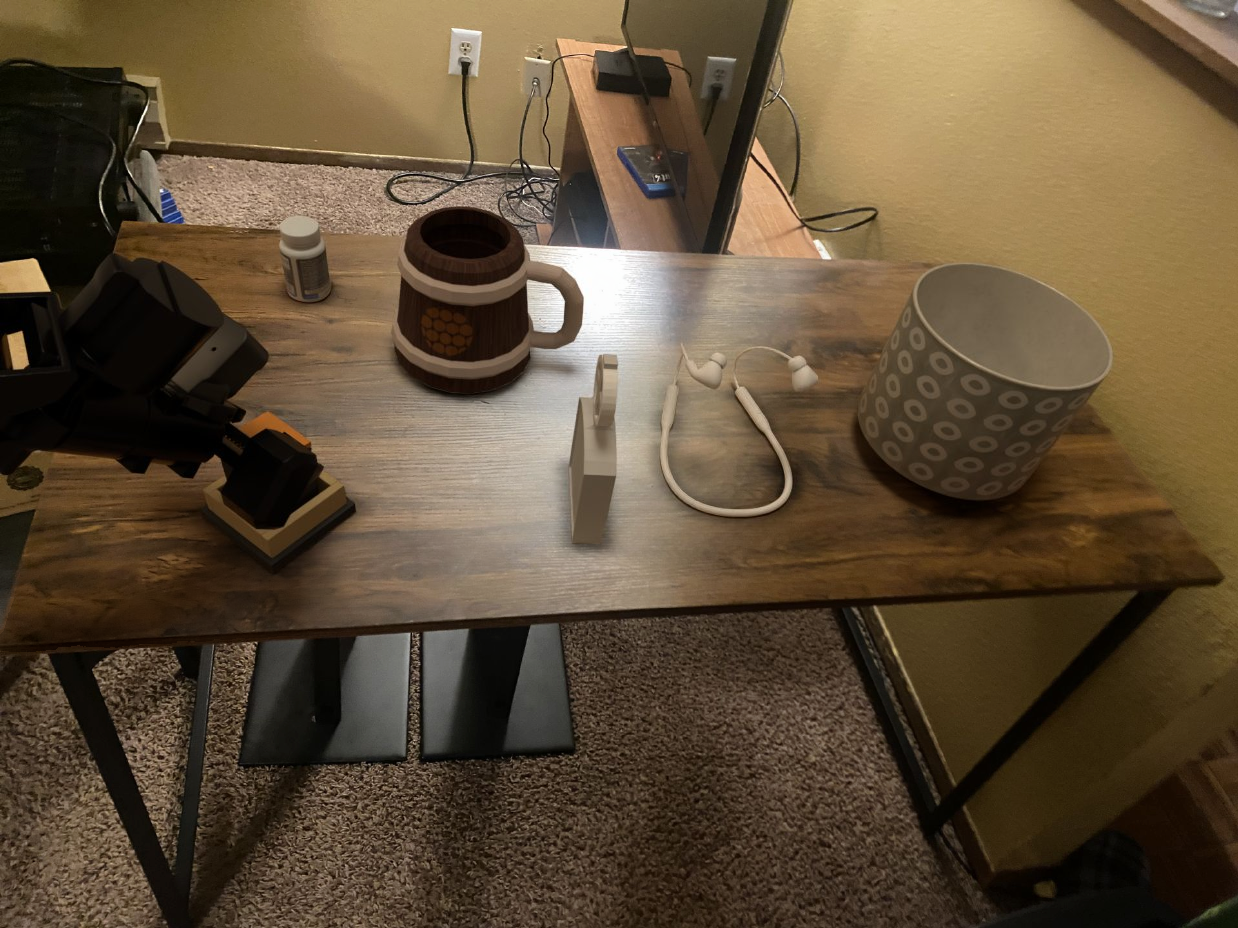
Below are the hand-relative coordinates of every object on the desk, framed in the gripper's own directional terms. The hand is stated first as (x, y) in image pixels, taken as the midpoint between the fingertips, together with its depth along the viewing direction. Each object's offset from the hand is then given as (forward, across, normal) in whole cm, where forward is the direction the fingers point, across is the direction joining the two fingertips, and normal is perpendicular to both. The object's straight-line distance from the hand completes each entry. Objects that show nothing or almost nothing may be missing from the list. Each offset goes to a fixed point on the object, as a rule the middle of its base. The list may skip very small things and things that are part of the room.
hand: (280, 442), depth 68 cm
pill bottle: (+21, +23, -10) cm, 33 cm away
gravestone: (+18, -19, -7) cm, 27 cm away
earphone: (+30, -25, -18) cm, 43 cm away
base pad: (+5, 0, +7) cm, 8 cm away
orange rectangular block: (+4, 0, +6) cm, 7 cm away
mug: (+25, +1, -13) cm, 28 cm away
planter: (+41, -44, -29) cm, 66 cm away
